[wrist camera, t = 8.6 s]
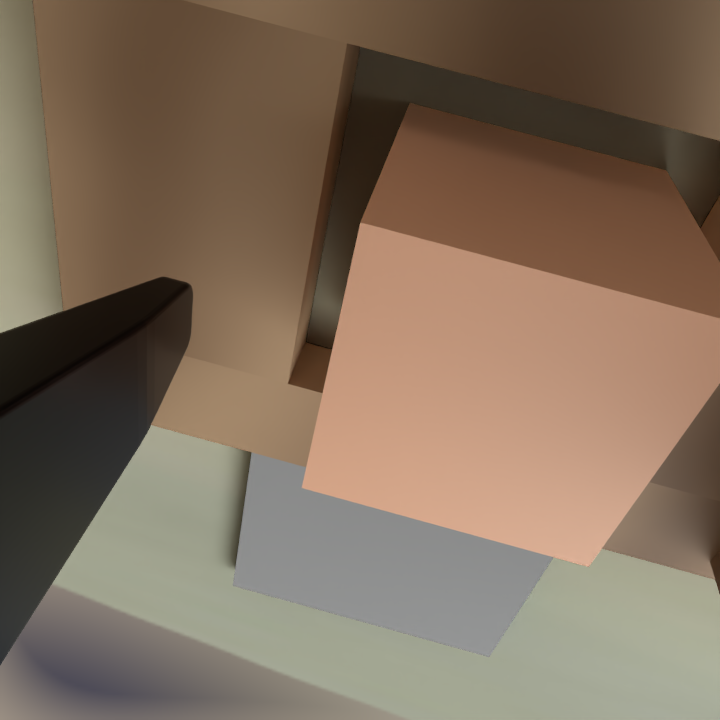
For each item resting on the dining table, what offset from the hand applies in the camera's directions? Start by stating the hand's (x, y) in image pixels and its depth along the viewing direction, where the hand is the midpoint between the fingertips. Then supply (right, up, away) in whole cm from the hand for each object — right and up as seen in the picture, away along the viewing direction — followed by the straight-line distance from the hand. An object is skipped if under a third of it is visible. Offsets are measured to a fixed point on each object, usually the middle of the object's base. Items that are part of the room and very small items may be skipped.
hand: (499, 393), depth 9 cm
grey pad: (-1, -5, +9) cm, 10 cm away
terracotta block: (+1, +3, +3) cm, 4 cm away
